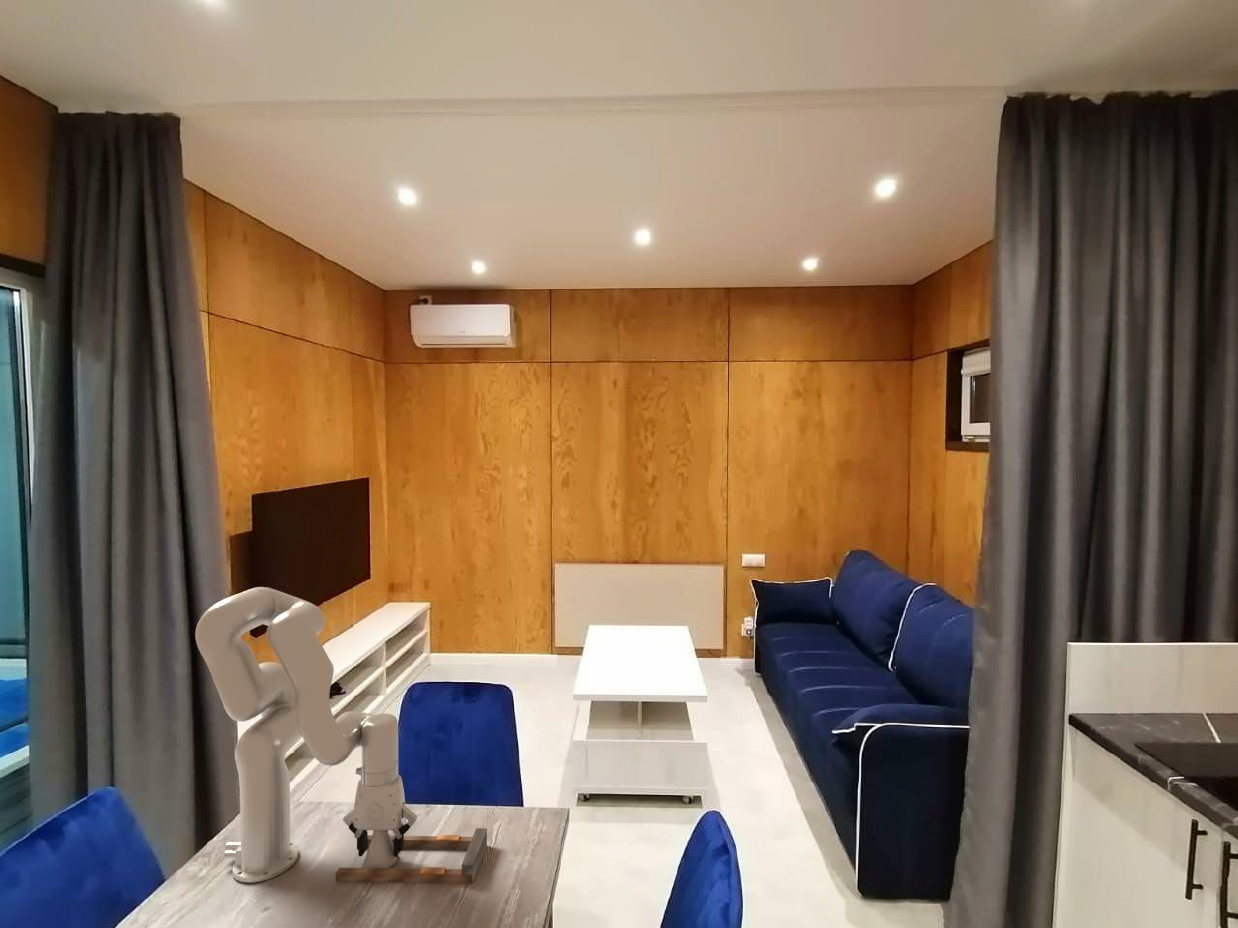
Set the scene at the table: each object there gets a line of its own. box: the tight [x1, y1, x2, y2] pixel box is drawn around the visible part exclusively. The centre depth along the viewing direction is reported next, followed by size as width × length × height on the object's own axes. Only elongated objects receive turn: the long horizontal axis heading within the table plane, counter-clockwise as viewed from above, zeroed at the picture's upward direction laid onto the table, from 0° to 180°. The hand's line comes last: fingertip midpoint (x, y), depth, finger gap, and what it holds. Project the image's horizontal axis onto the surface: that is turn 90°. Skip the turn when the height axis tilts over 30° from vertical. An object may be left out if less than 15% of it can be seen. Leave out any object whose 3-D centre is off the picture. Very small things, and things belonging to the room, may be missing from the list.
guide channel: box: [335, 827, 488, 885], centre depth 135 cm, size 29×13×4 cm, turn 89°
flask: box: [361, 830, 399, 868], centre depth 135 cm, size 7×7×10 cm
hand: (380, 851), depth 135 cm, fingers open, 7 cm apart
